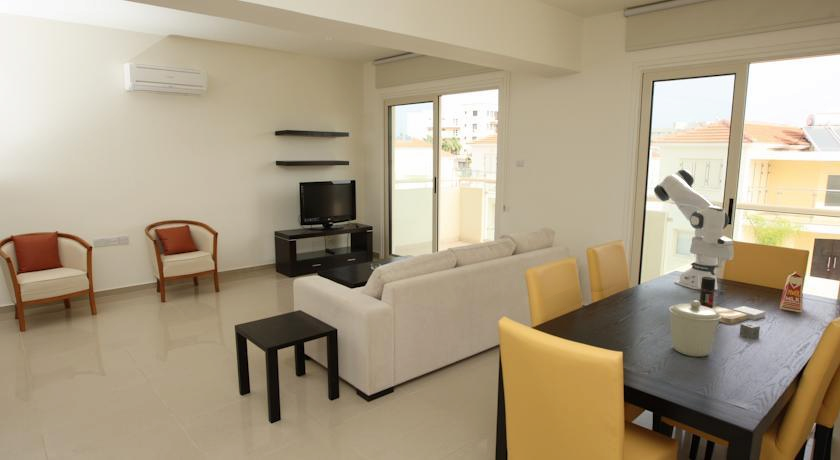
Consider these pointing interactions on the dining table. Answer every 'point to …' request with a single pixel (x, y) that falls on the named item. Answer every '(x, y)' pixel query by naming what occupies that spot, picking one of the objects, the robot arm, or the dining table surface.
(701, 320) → the canister
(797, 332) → the dining table surface
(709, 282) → the deodorant
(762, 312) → the grey stand
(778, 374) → the dining table surface
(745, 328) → the dice cube
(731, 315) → the oak stand
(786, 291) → the milk carton
